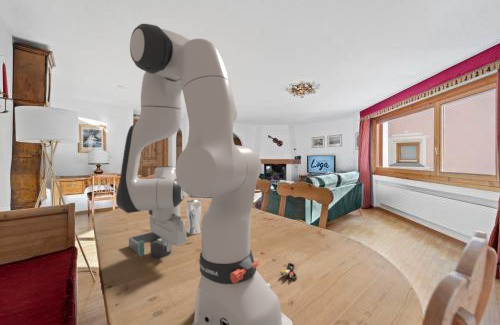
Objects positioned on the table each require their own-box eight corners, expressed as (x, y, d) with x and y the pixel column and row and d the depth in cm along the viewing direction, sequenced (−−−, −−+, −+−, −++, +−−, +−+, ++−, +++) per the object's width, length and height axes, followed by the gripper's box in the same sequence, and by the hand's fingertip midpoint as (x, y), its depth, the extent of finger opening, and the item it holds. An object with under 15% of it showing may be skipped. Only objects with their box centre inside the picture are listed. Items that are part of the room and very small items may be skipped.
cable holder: (172, 245, 86) (172, 233, 86) (139, 256, 77) (139, 242, 76) (158, 237, 94) (158, 226, 94) (127, 246, 85) (127, 234, 85)
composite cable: (288, 264, 71) (288, 257, 71) (302, 268, 69) (302, 260, 69) (278, 280, 62) (278, 272, 62) (294, 284, 60) (294, 276, 60)
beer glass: (186, 235, 96) (185, 202, 96) (186, 230, 103) (186, 199, 103) (201, 234, 98) (201, 202, 98) (201, 229, 105) (200, 199, 104)
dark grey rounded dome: (174, 253, 79) (174, 239, 79) (155, 259, 74) (155, 245, 74) (165, 247, 84) (165, 234, 84) (147, 253, 79) (147, 239, 79)
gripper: (191, 215, 71) (191, 256, 71) (162, 205, 84) (163, 239, 85) (173, 219, 66) (173, 263, 66) (146, 208, 80) (146, 244, 80)
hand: (167, 250), depth 76 cm, fingers closed
